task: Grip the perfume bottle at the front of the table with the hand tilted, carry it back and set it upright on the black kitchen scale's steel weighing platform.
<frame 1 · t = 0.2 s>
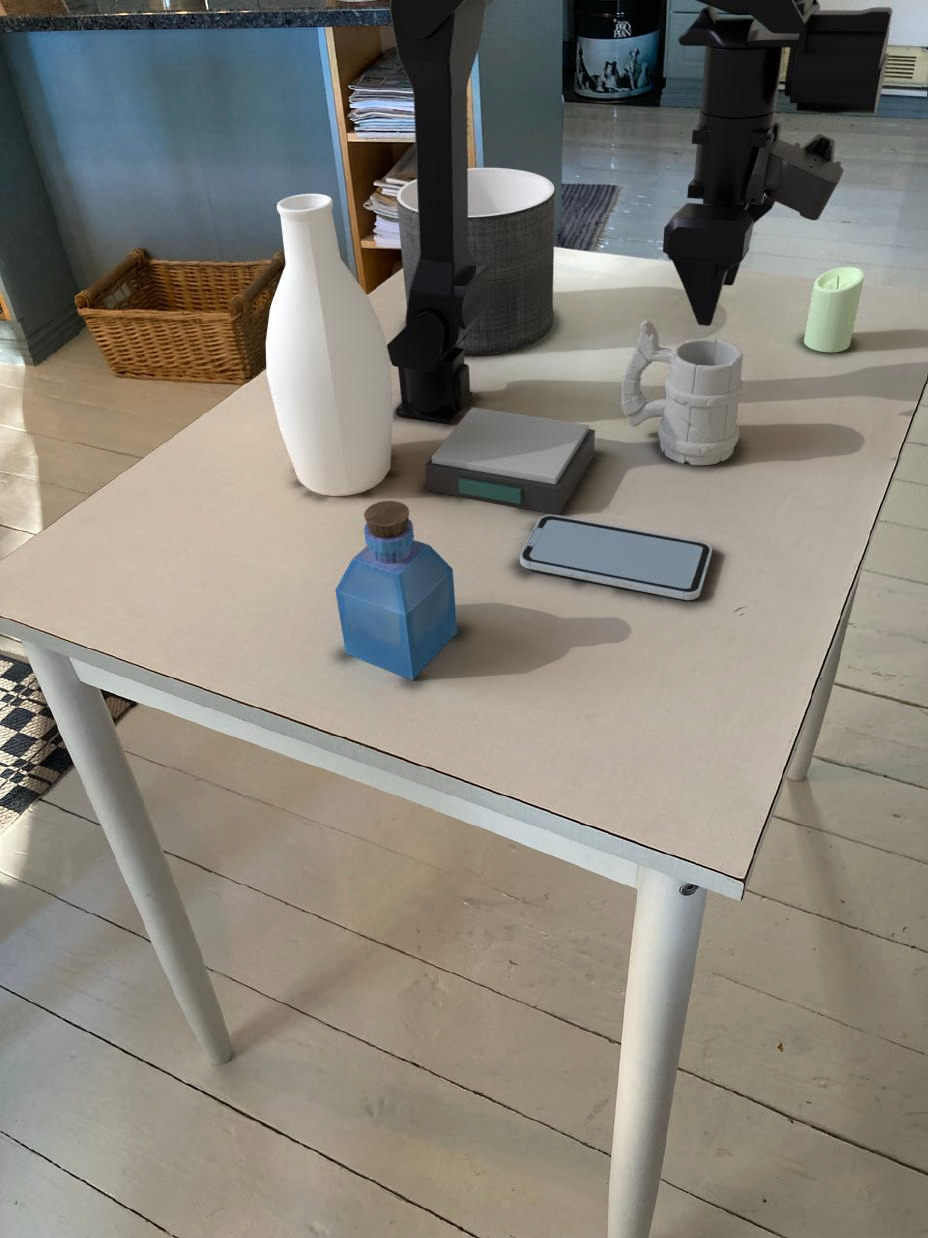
hand: (716, 303, 87), 15 cm above the table, tool pointing down, fingers open, 9 cm apart
mug: (675, 445, 98), on the table
planter: (480, 326, 122), on the table
perfume bottle: (402, 644, 77), on the table
scale: (512, 472, 95), on the table
bottle: (344, 474, 97), on the table
smartphone: (615, 562, 83), on the table
candle: (826, 345, 113), on the table
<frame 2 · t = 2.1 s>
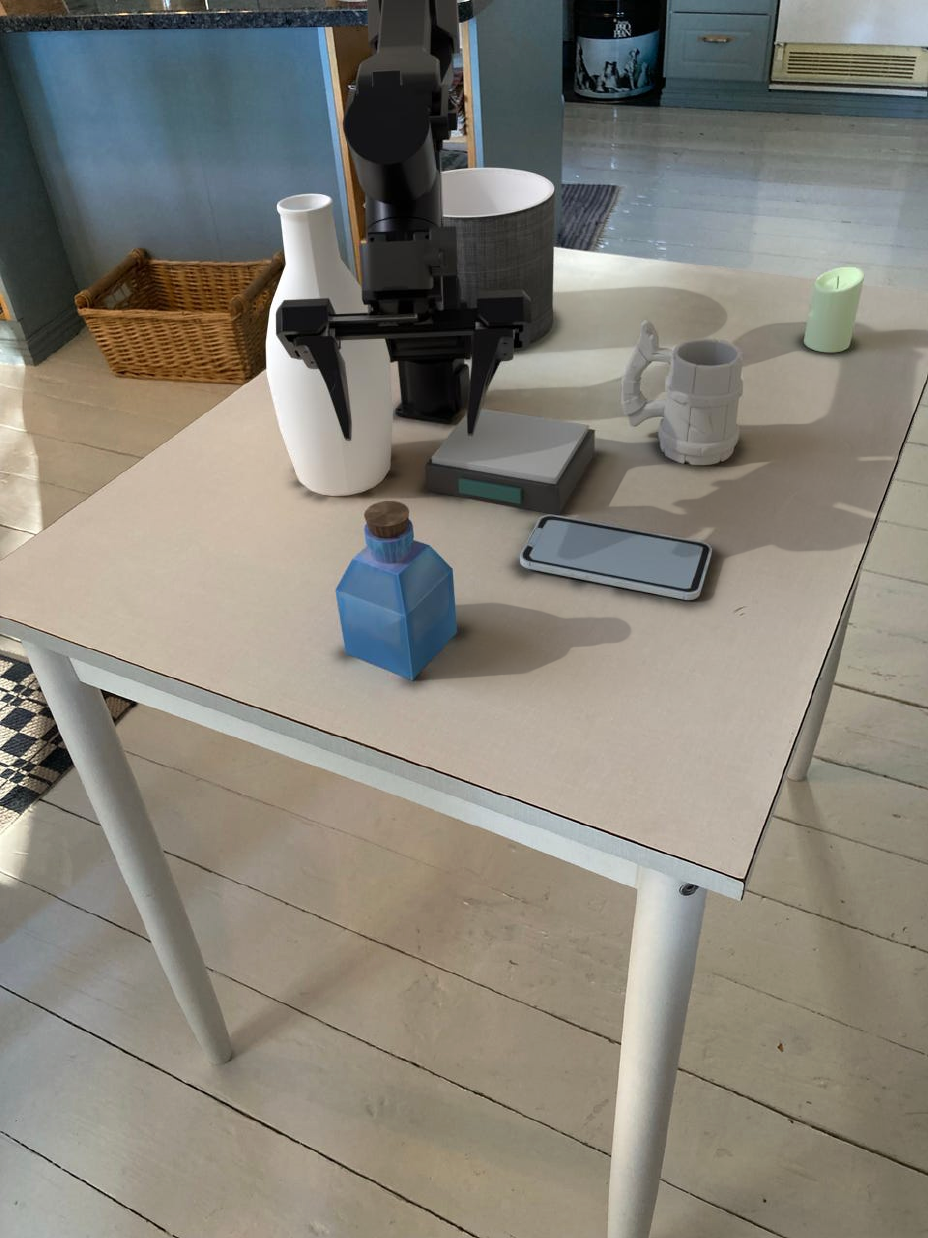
hand: (408, 437, 74), 13 cm above the table, tool tilted 45°, fingers open, 9 cm apart
nothing on the table moved.
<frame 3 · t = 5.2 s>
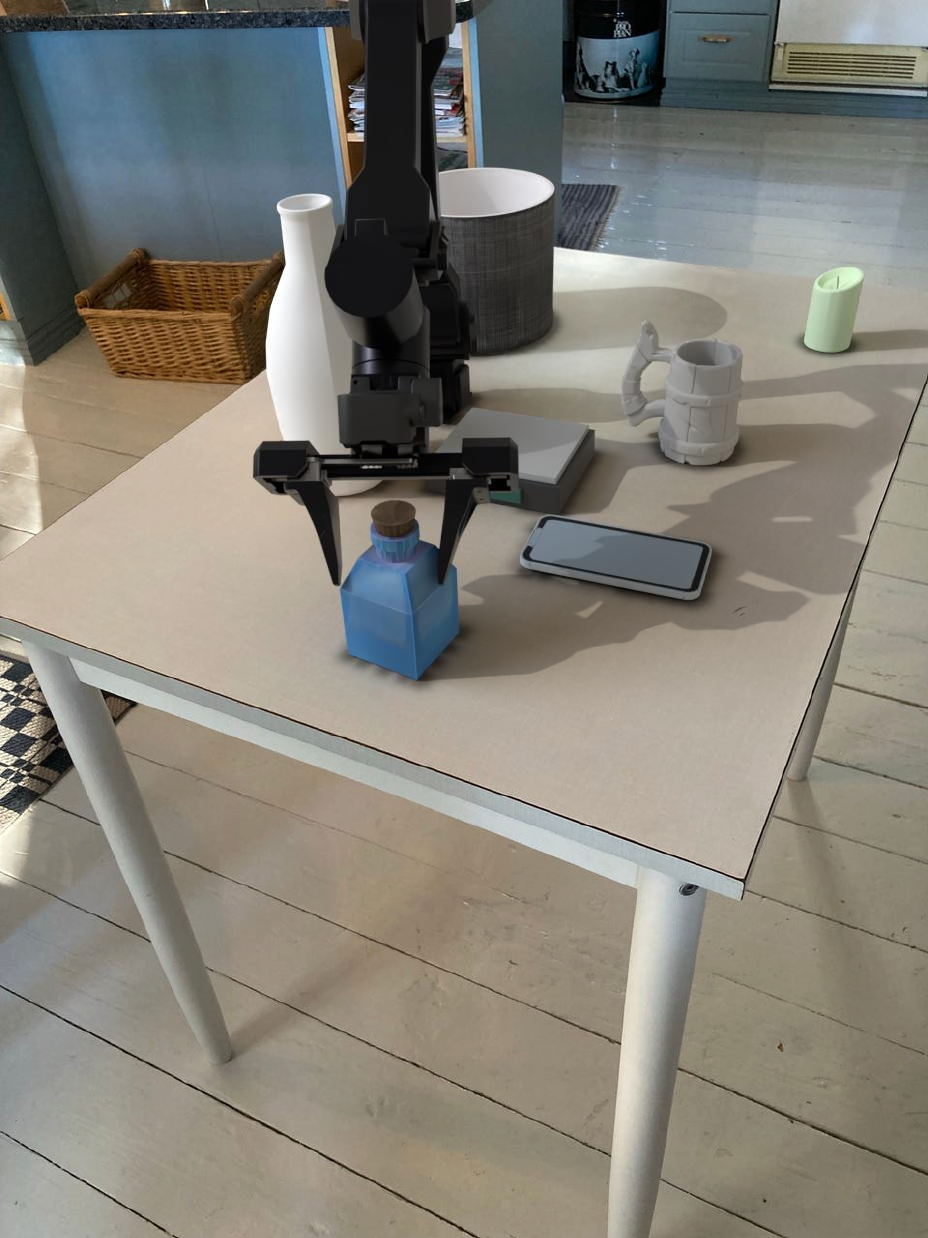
hand: (388, 585, 71), 7 cm above the table, tool tilted 45°, fingers closed on perfume bottle, 7 cm apart
perfume bottle: (404, 644, 77), on the table, touching gripper
everything else where it was.
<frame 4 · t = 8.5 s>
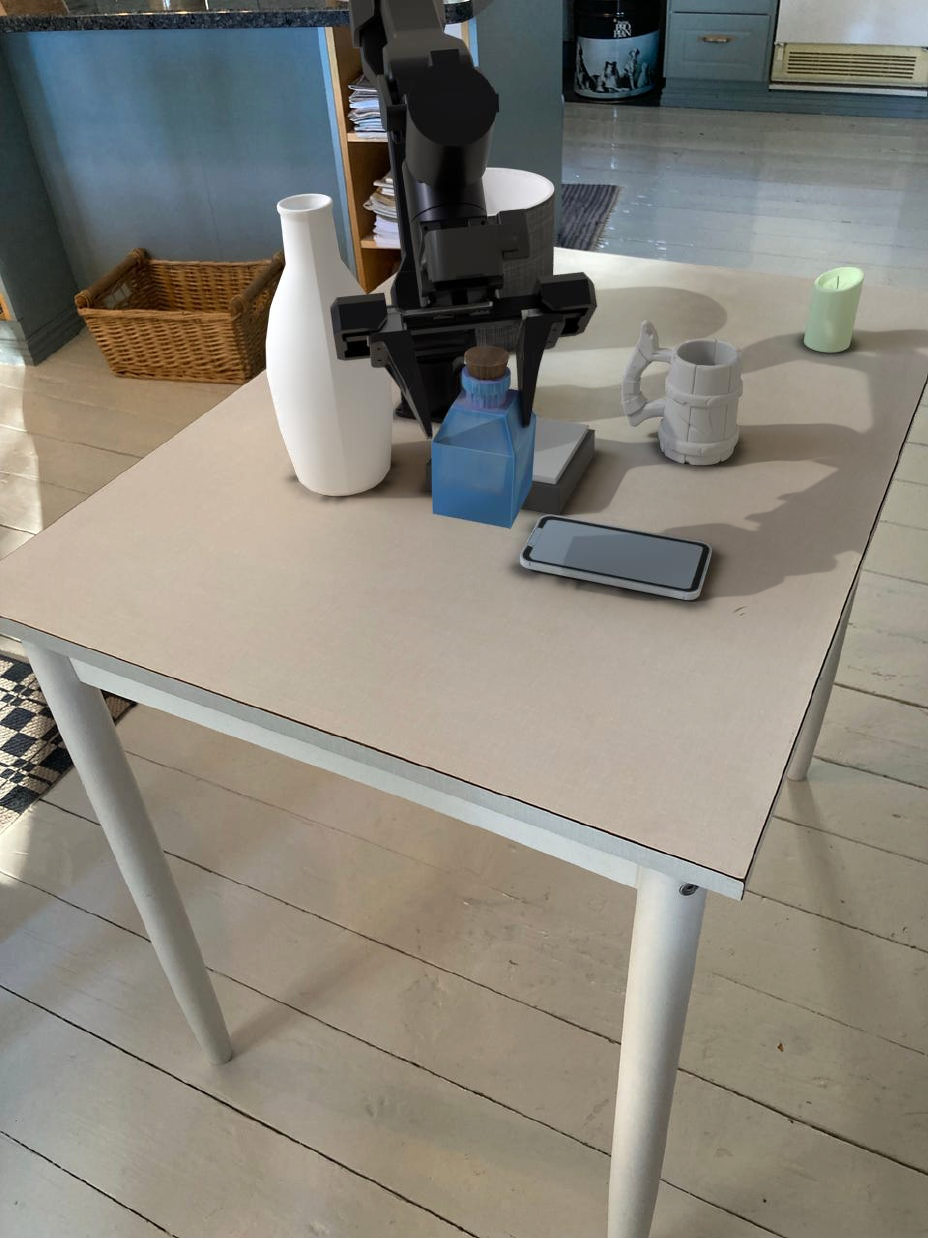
hand: (478, 432, 71), 15 cm above the table, tool tilted 45°, fingers closed on perfume bottle, 7 cm apart
perfume bottle: (483, 501, 77), point 8 cm above the table, touching gripper
everything else where it was.
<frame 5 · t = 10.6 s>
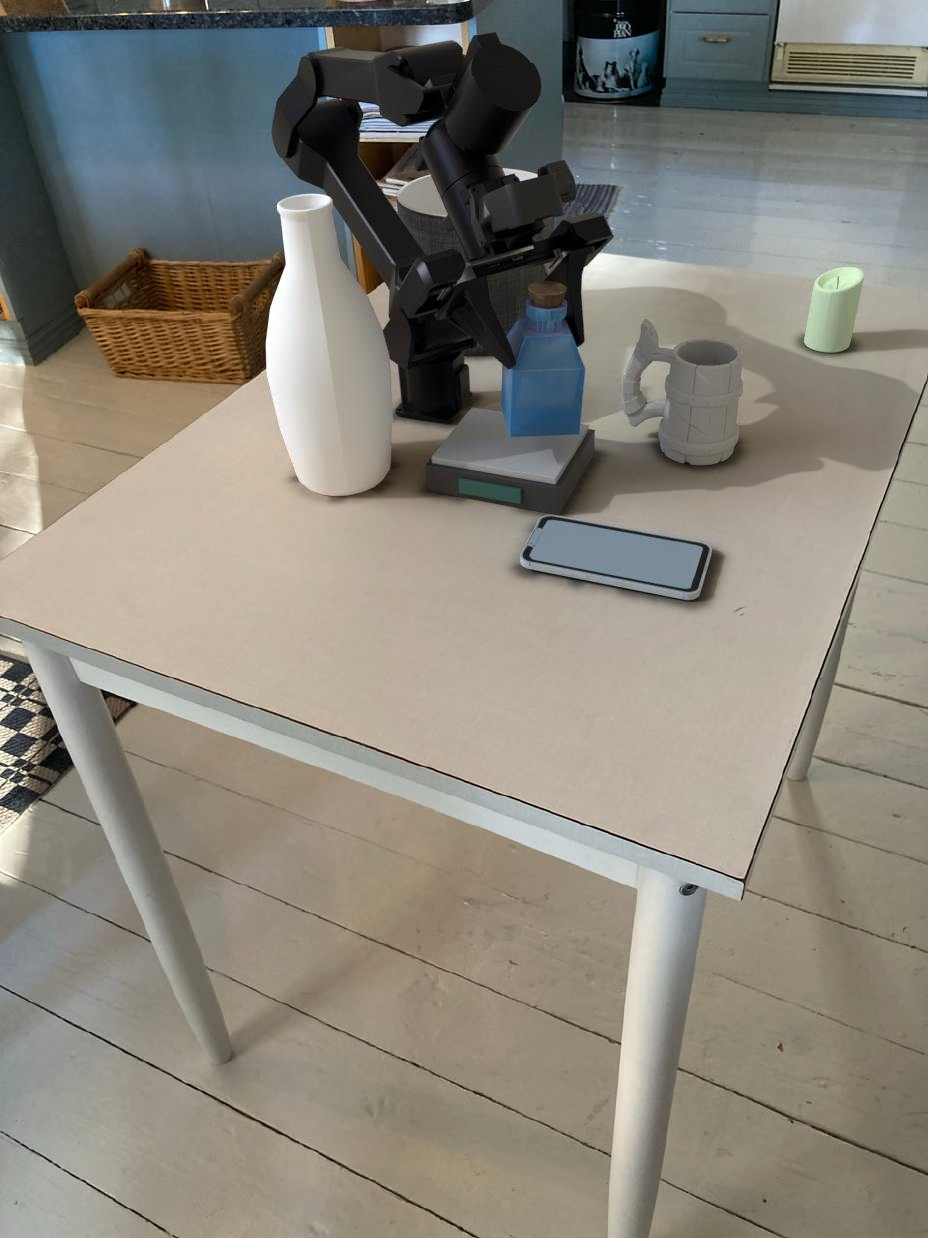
hand: (546, 355, 84), 13 cm above the table, tool tilted 45°, fingers closed on perfume bottle, 7 cm apart
perfume bottle: (539, 421, 90), point 6 cm above the table, touching gripper
everything else where it was.
when the fingers open (11 cm above the table, at t = 12.1 s): perfume bottle stays where it is, resting on scale.
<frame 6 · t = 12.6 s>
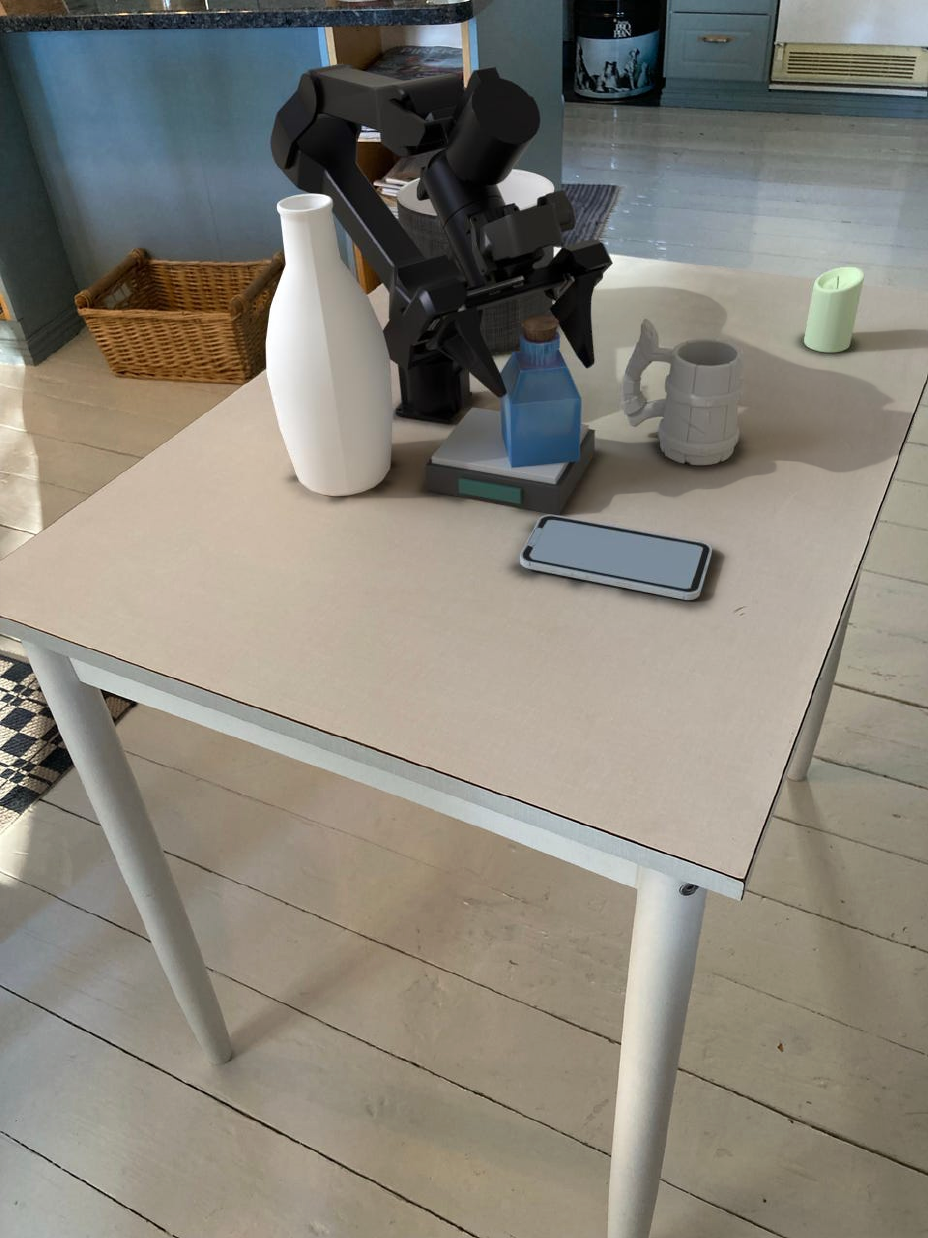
hand: (547, 380, 85), 11 cm above the table, tool tilted 45°, fingers open, 9 cm apart
perfume bottle: (539, 448, 92), point 3 cm above the table, touching scale
everything else where it was.
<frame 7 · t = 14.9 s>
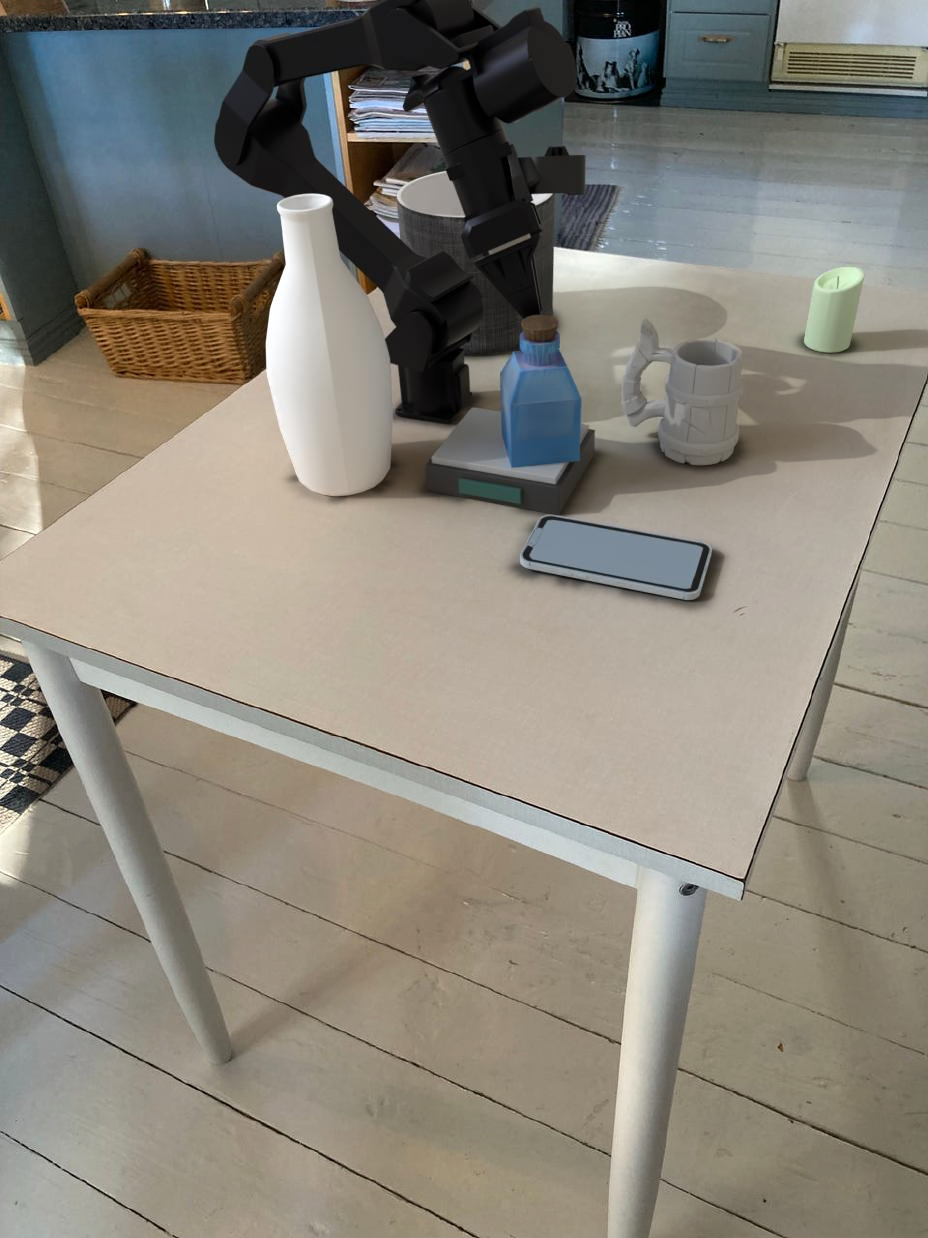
hand: (537, 318, 91), 13 cm above the table, tool tilted 25°, fingers open, 9 cm apart
nothing on the table moved.
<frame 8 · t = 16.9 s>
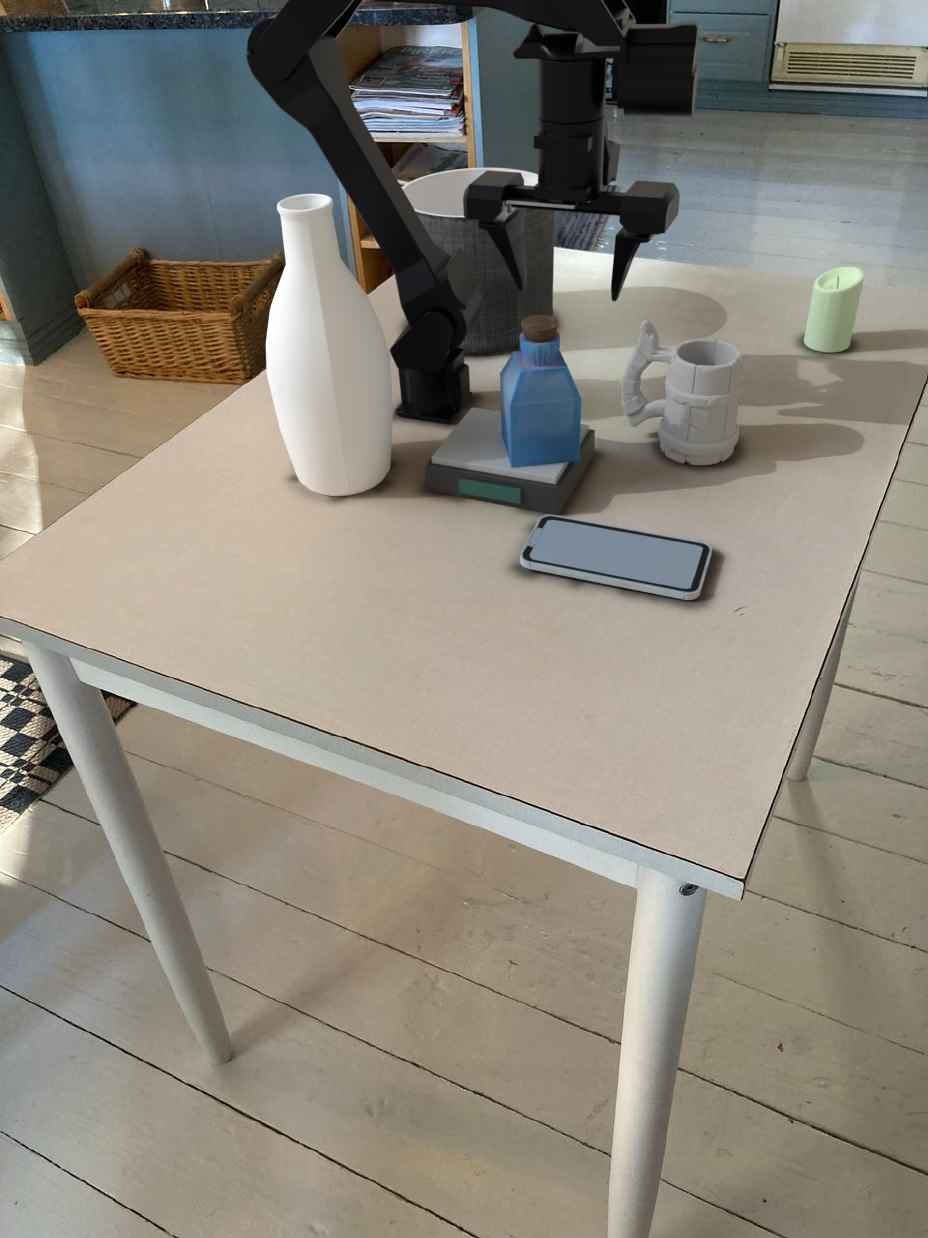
hand: (568, 294, 95), 13 cm above the table, tool pointing down, fingers open, 9 cm apart
nothing on the table moved.
at the end: perfume bottle inside the target area on the scale (2.9 cm from its centre), point 3.3 cm above the scale's base; perfume bottle tilted 0°; the gripper is holding nothing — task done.
